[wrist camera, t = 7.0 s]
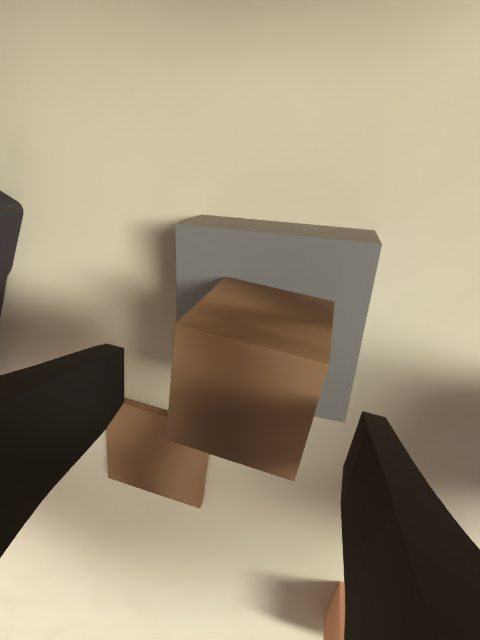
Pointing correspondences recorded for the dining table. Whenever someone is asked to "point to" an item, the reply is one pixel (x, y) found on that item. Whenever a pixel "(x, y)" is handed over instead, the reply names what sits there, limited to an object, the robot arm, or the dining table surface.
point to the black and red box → (8, 236)
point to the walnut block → (250, 374)
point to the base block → (287, 278)
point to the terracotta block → (336, 615)
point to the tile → (153, 455)
